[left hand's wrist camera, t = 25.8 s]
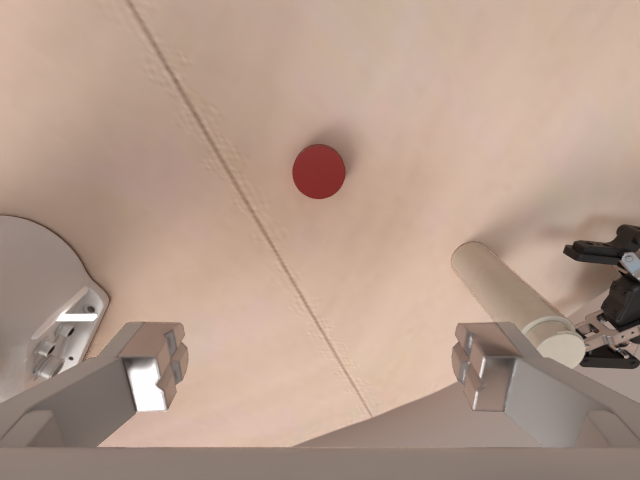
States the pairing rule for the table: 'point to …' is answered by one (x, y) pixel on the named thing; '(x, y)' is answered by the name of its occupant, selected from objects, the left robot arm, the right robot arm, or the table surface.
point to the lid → (318, 171)
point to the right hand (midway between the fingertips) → (552, 293)
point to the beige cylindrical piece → (517, 303)
